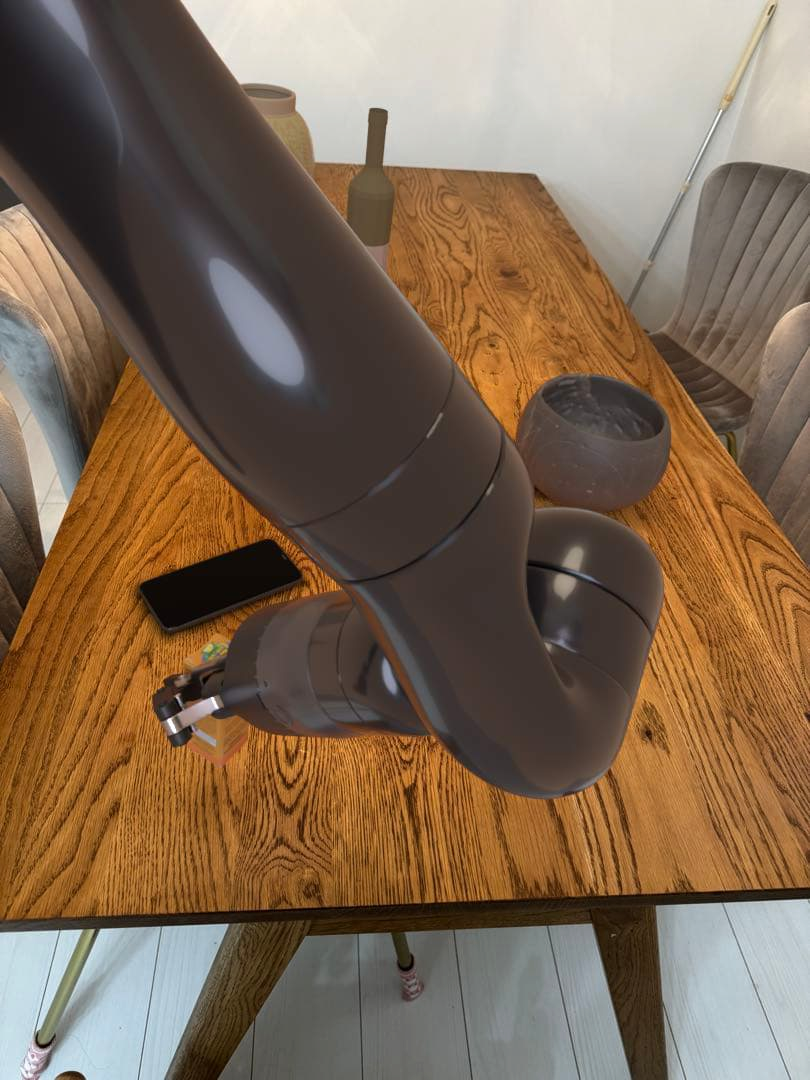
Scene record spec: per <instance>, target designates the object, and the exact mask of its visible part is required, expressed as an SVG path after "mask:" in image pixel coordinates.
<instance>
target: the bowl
mask: <svg viewBox="0 0 810 1080" xmlns="http://www.w3.org/2000/svg"><path fill="white" fill-rule="evenodd" d="M671 426H672V425H671V422H670V418H669V415H668V413H667V411H666V410H665V408H664V407H663V405H662V404H661V403H660V402H659V401H658V400H657V399H656V398H654V397H653V396H652V395H651V394H649V393H647V392H646V391H645V390H643V389H642V388H639V387H637V386H635V385H633V384H631V383H629V382H626V381H624V380H623V379H622V380H621V379H619V378H617V377H613V376H609V375H606V374H600V373H590V374H587V373H585V372H575V373H571V372H570V373H563V374H560V375H558V376H555V377H552V378H550V379H548V380H547V381H546V382H544V383H543V384H541V385H540V387H538V389H537V390H536V391H535V392H534V394H533V395H532V396H531V397H530V398H529V399H528V402H527V403H526V404H525V405H524V407H523V410H522V412H521V415H520V417H519V419H518V421H517V426H516V431H515V441H514V442H515V444H516V445H517V447H518V449H519V450H520V452H521V454H522V456H523V457H524V459H525V461H526V463H527V465H528V467H529V470H530V473H531V476H532V479H533V484H534V487H535V488H536V489H538V490H539V492H541V493H542V494H543V495H544V496H546V497H547V498H548V499H549V500H552V501H553V502H554V503H557V504H559V505H560V506H566V507H578V508H585V509H590V510H593V511H597V512H600V513H611V512H617V511H622V510H625V509H628V508H630V507H633V506H634V505H637V504H638V503H640V502H641V501H644V500H645V499H646V498H647V497H648V496H649V495H651V493H653V491H655V489H656V488H657V487H658V486H659V484H660V483H661V481H662V479H663V477H664V475H665V473H666V471H667V468H668V465H669V461H670V455H671V449H672V448H671V446H672V427H671Z"/></svg>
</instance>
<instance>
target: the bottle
mask: <svg viewBox="0 0 810 1080" xmlns="http://www.w3.org/2000/svg"><path fill="white" fill-rule="evenodd" d="M388 121H389V110H387V109H384V108H381V107H370V108H369V109H368V114H367V123H368V124H367V135H366V136H367V137H366V150H365V162H364V165H363V168H362V169H361V170H360V171H359V172H358V173H357V174H355V176H353V178H352V179H351V180H350V181H349V184H348V190H347V204H346V206H347V207H346V222H347V223H348V225H349V226H350V227H351V228H352V230H353V231H354V232H355V233H356V235H357V236H358V237H359V239H360V240H361V241H362V242H363V244H364V245H365V246H366V247H367V249H368V250H369V251H370V252H371V254H372V255H373V256H374V258H375V259H376V260H377V261H378V263H379V264H380V265H381V266H382V268H383V269H384V270H385V272H386V273H387V267H388V258H389V257H388V256H389V250H390V242H391V232H392V225H393V223H392V222H393V217H394V208H395V201H396V200H395V199H396V190H395V189H396V187H395V185H394V184H393V182H392V180H391V179H390V178H389V176H388V175H387V173H386V172H385V170H384V156H385V148H386V147H385V145H386V136H387V134H386V133H387V125H388Z"/></svg>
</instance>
